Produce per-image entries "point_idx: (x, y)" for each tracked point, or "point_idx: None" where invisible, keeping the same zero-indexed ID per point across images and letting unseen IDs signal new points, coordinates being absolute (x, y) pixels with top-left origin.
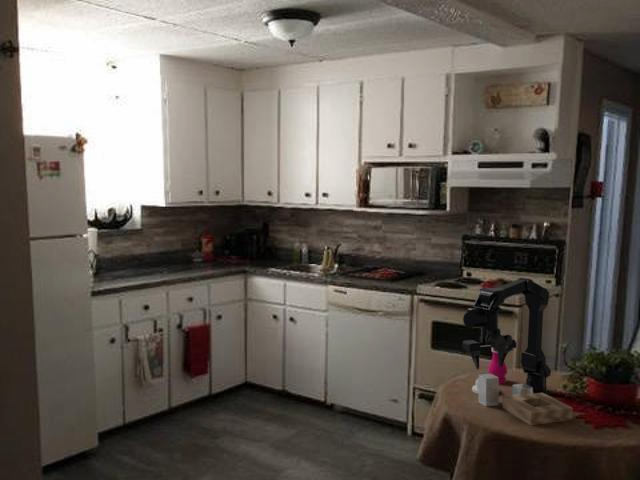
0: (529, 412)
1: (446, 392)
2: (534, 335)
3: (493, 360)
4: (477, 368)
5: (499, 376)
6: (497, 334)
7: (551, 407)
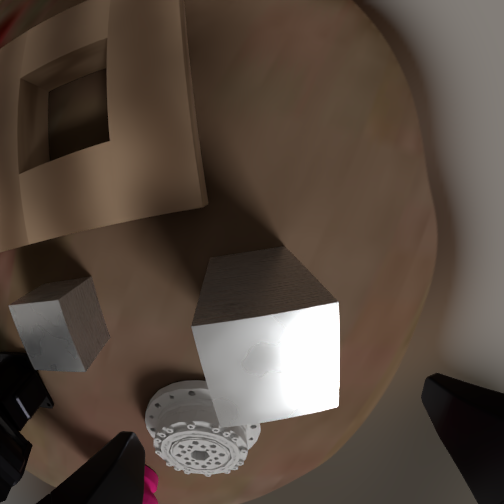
0: None
1: (362, 413)
2: None
3: None
4: (443, 378)
5: None
6: None
7: (42, 43)
